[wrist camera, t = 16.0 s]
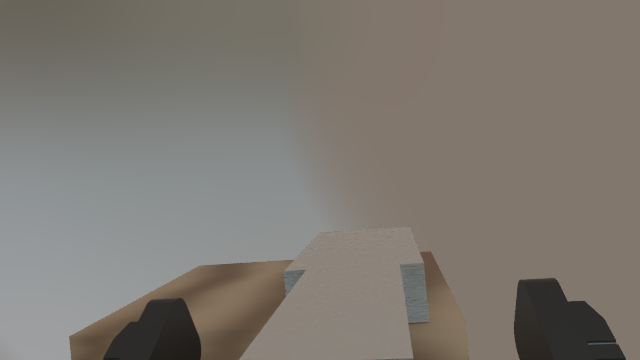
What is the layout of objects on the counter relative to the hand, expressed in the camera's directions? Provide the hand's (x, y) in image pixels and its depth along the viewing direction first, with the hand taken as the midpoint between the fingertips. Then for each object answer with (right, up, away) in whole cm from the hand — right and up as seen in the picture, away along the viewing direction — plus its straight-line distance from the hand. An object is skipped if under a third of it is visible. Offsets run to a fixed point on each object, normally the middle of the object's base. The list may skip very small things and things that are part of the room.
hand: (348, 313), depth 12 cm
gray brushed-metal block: (+1, -3, +9) cm, 10 cm away
